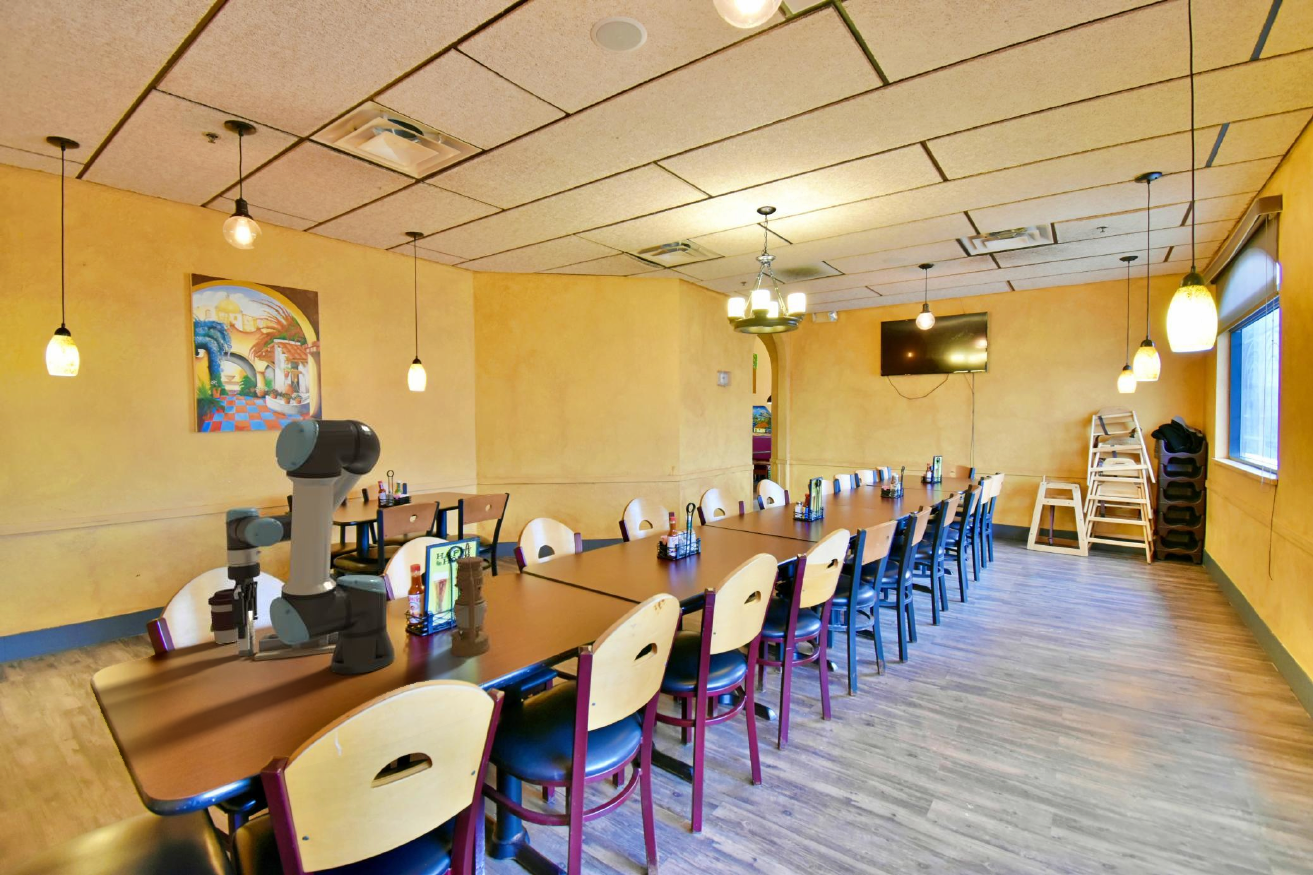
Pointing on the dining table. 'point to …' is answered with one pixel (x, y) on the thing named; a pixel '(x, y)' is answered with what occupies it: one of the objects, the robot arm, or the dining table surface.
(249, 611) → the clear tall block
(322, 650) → the chain bed
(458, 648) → the lantern
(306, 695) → the dining table surface
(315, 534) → the robot arm
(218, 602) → the coffee cup
